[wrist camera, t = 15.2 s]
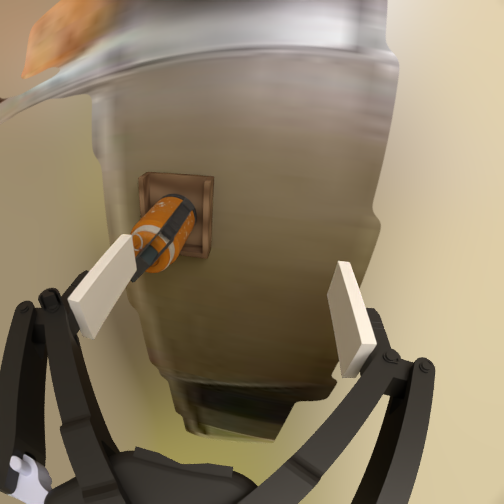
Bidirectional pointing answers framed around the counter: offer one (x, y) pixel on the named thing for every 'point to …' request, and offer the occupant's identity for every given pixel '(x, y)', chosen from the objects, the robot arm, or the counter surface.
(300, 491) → the robot arm
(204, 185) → the cradle
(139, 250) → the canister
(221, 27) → the counter surface
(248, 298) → the counter surface
